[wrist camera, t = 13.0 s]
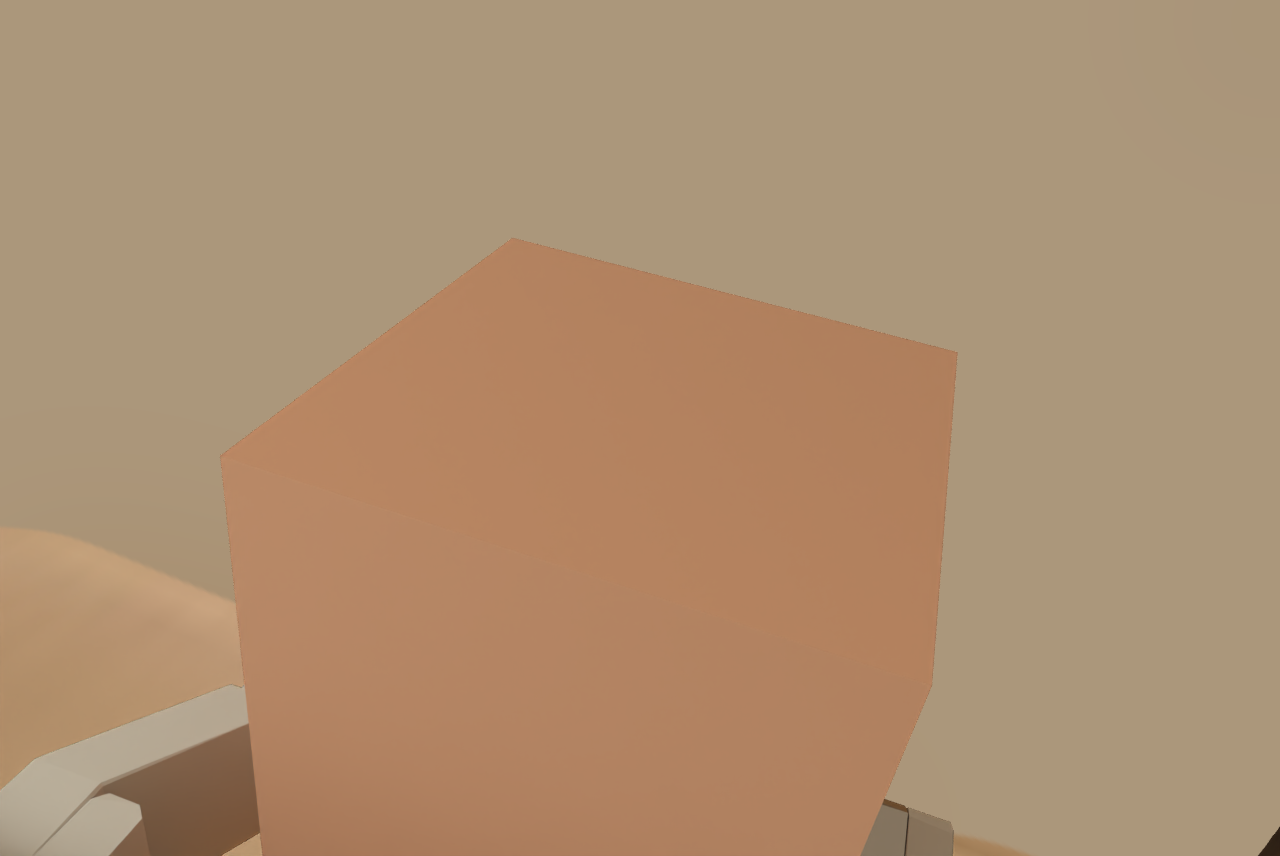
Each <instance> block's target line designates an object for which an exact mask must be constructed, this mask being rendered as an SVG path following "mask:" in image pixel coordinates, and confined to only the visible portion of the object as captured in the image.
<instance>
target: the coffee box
mask: <svg viewBox="0 0 1280 856" xmlns="http://www.w3.org/2000/svg"><path fill="white" fill-rule="evenodd" d="M1258 856H1280V827H1279V829H1278V830H1277V832H1276V833H1275V834H1274V835H1273V836H1272V838H1271V839H1270V841H1269V842H1268V844H1267V845H1266V846H1265V848H1264V849H1263V850H1262V852H1261V853H1260V854H1259V855H1258Z"/></svg>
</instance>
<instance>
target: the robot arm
mask: <svg viewBox="0 0 1280 856" xmlns="http://www.w3.org/2000/svg"><path fill="white" fill-rule="evenodd" d="M258 833H260V825H259V816H258V806H257V797H256V788H255V778H254V769H253V760H252V750H251V741H250V731H249V722H248V712H247V703H246V694H245V684H244V685H243V686H242V687H238V686H235V685H232V684H230V685H227V686H225V687H222V688H220V689H217V690H214V691H212V692H209V693H206V694H204V695H201V696H198V697H196V698H193V699H190V700H188V701H185V702H183V703H180V704H177V705H175V706H172V707H169V708H167V709H164V710H161V711H159V712H156V713H153V714H151V715H148V716H146V717H143V718H140V719H138V720H135V721H132V722H130V723H127V724H124V725H122V726H119V727H117V728H114V729H111V730H109V731H106V732H103V733H101V734H98V735H95V736H93V737H90V738H87V739H85V740H82V741H80V742H77V743H74V744H72V745H69V746H66V747H64V748H61V749H58V750H56V751H53V752H51V753H48V754H45V755H43V756H40V757H37V758H35V759H34V760H33V761H32V762H31V763H29V764H28V765H27V766H26V767H25V768H24V769H23V770H22V771H21V772H20V773H18V774H17V775H16V776H15V777H14V778H13V779H12V780H11V781H10V782H9V783H8V784H6V785H5V786H4V787H3V788H2V789H1V790H0V856H221V855H223V854H224V853H226V852H228V851H230V850H231V849H233V848H235V847H236V846H238V845H240V844H241V843H243V842H245V841H247V840H248V839H250V838H252V837H253V836H255V835H257V834H258ZM953 835H954V830H953V828H952V825H951V822H949V821H946V820H943V819H940V818H937V817H934V816H931V815H928V814H925V813H923V812H920V811H917V810H914V809H911V808H906V807H905V806H904V805H901V804H898V803H895V802H892V801H889V800H886V799H884V801H883V803H882V805H881V808H880V810H879V812H878V815H877V817H876V820H875V822H874V824H873V827H872V829H871V831H870V834H869V836H868V839H867V841H866V843H865V846H864V848H863V850H862V853H861V855H860V856H953Z"/></svg>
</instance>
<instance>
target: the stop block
mask: <svg viewBox="0 0 1280 856" xmlns="http://www.w3.org/2000/svg"><path fill="white" fill-rule="evenodd" d="M956 365H957V352H954V351H950V350H946V349H943V348H939V347H935V346H931V345H927V344H923V343H920V342H916V341H911V340H908V339H904V338H900V337H896V336H892V335H888V334H885V333H881V332H877V331H873V330H869V329H865V328H861V327H857V326H853V325H850V324H846V323H841V322H838V321H833V320H829V319H826V318H822V317H818V316H815V315H810V314H807V313H803V312H799V311H795V310H791V309H787V308H783V307H779V306H775V305H772V304H768V303H764V302H760V301H756V300H752V299H748V298H744V297H741V296H737V295H733V294H729V293H725V292H721V291H717V290H713V289H709V288H706V287H702V286H698V285H694V284H690V283H686V282H682V281H678V280H674V279H671V278H667V277H663V276H659V275H655V274H651V273H647V272H643V271H639V270H636V269H632V268H628V267H624V266H620V265H616V264H612V263H608V262H604V261H600V260H597V259H592V258H589V257H585V256H581V255H577V254H573V253H569V252H566V251H562V250H557V249H554V248H550V247H546V246H542V245H538V244H534V243H531V242H526V241H523V240H519V239H515V238H512V239H510V240H509V241H508V242H506V243H505V244H504V245H502V246H501V247H500V248H498V249H497V250H496V251H494V252H493V253H491V254H490V255H489V256H487V257H486V258H485V259H483V260H482V261H481V262H479V263H478V264H477V265H475V266H474V267H473V268H471V269H470V270H469V271H468V272H466V273H465V274H463V275H462V276H461V277H459V278H458V279H457V280H455V281H454V282H453V283H451V284H450V285H449V286H447V287H446V288H445V289H443V290H442V291H441V292H439V293H438V294H436V295H435V296H434V297H433V298H431V299H430V300H428V301H427V302H426V303H424V304H423V305H422V306H420V307H419V308H418V309H416V310H415V311H414V312H413V313H411V314H410V315H408V316H407V317H406V318H404V319H403V320H402V321H400V322H399V323H398V324H396V325H395V326H394V327H392V328H391V329H390V330H388V331H387V332H385V333H384V334H383V335H381V336H380V337H379V338H377V339H376V340H375V341H374V342H372V343H371V344H369V345H368V346H367V347H365V348H364V349H363V350H361V351H360V352H359V353H357V354H356V355H355V356H353V357H352V358H351V359H349V360H348V361H347V362H345V363H344V364H343V365H341V366H340V367H339V368H337V369H336V370H335V371H333V372H332V373H331V374H329V375H328V376H326V377H325V378H324V379H323V380H321V381H320V382H319V383H317V384H316V385H314V386H313V387H312V388H310V389H309V390H308V391H307V392H305V393H304V394H302V395H301V396H300V397H298V398H297V399H296V400H294V401H293V402H292V403H290V404H289V405H288V406H286V407H285V408H284V409H282V410H281V411H280V412H278V413H277V414H276V415H274V416H273V417H272V418H270V419H269V420H268V421H266V422H265V423H263V424H262V425H261V426H259V427H258V428H257V429H255V430H254V431H253V432H251V433H250V434H249V435H248V436H246V437H245V438H243V439H242V440H241V441H239V442H238V443H237V444H235V445H234V446H233V447H231V448H230V449H229V450H227V451H226V452H225V453H224V454H222V455H221V456H220V458H221V468H222V478H223V487H224V496H225V505H226V514H227V525H228V534H229V542H230V552H231V562H232V572H233V581H234V589H235V600H236V609H237V619H238V628H239V637H240V647H241V656H242V666H243V675H244V684H245V694H246V703H247V712H248V722H249V731H250V741H251V750H252V760H253V769H254V778H255V788H256V797H257V806H258V816H259V825H260V835H261V844H262V853H263V856H860V855H861V853H862V850H863V848H864V846H865V843H866V841H867V839H868V836H869V834H870V831H871V829H872V827H873V824H874V822H875V820H876V817H877V815H878V812H879V810H880V808H881V805H882V803H883V801H884V798H885V796H886V793H887V791H888V789H889V786H890V784H891V781H892V779H893V777H894V774H895V772H896V769H897V767H898V765H899V763H900V760H901V758H902V755H903V753H904V751H905V748H906V746H907V744H908V741H909V739H910V736H911V734H912V731H913V729H914V727H915V725H916V722H917V720H918V717H919V715H920V713H921V710H922V708H923V706H924V703H925V701H926V699H927V696H928V694H929V691H930V689H931V687H932V678H933V665H934V651H935V638H936V626H937V611H938V600H939V587H940V573H941V561H942V548H943V534H944V521H945V508H946V495H947V482H948V469H949V456H950V443H951V430H952V417H953V403H954V391H955V390H954V389H955V378H956Z"/></svg>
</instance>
